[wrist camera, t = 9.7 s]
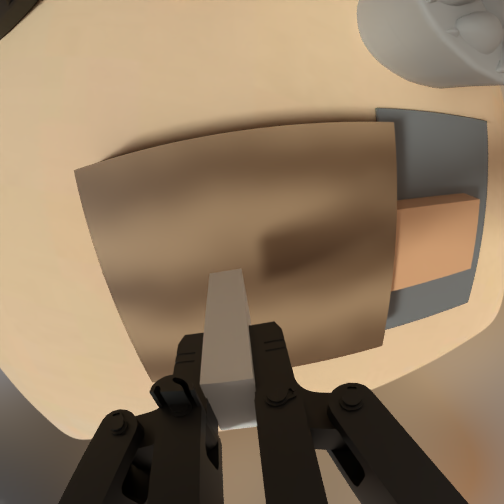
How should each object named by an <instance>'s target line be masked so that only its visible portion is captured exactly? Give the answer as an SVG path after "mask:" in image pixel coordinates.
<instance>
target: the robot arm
mask: <svg viewBox="0 0 504 504" xmlns="http://www.w3.org/2000/svg"><path fill="white" fill-rule="evenodd" d="M37 1H38V0H0V39H1V38H2V37H3V36H4V35H5V34H6V33H7V32H9V31H10V30H11V29H12V28H13V27H14V26H15V25H16V24H17V23H18V22H19V21H20V20H21V19H22V18H23V17H24V16H25V14H26V13H27V12H28V11H29V10H30V9H31V8H32V7H33V6H34V4H35V3H36V2H37ZM150 394H151V395H152V397H153V399H154V400H155V402H156V403H157V405H158V406H159V408H158V409H157V410H154V411H152V412H149V413H145V414H142V415H138V416H134V414H133V413H132V412H130V411H128V410H121V409H119V410H115V411H112V412H111V413H109V414H108V415H106V417H105V418H104V419H103V420H102V422H101V424H100V426H99V427H98V429H97V431H96V433H95V435H94V436H93V438H92V440H91V442H90V444H89V446H88V448H87V449H86V451H85V453H84V455H83V457H82V459H81V460H80V462H79V464H78V466H77V468H76V470H75V472H74V474H73V476H72V478H71V480H70V482H69V483H68V486H67V487H66V489H65V491H64V493H63V496H62V497H61V500H60V501H59V504H224V498H223V474H222V444H221V440H220V438H219V436H218V425H219V427H220V429H221V430H229V429H239V428H248V427H255V426H257V430H258V439H259V447H260V456H261V464H262V472H263V481H264V489H265V498H266V504H328V502H327V498H326V493H325V489H324V485H323V481H322V477H321V473H320V469H319V465H318V461H317V457H316V453H315V449H324V450H327V452H328V453H329V455H330V456H331V458H332V460H333V461H334V463H335V464H336V466H337V467H338V469H339V471H340V472H341V474H342V475H343V477H344V478H345V480H346V481H347V483H348V484H349V486H350V487H351V489H352V491H353V492H354V493H355V495H356V497H357V498H358V500H359V501H360V502H361V504H468V502H467V501H466V500H465V499H464V498H463V497H462V496H461V494H460V493H459V492H458V491H457V490H456V489H455V487H454V486H453V485H452V484H451V483H450V482H449V480H448V479H447V478H446V477H445V476H444V475H443V474H442V472H441V471H440V470H439V469H438V468H437V466H435V464H434V463H433V462H432V461H431V460H430V458H429V457H428V456H427V455H426V454H425V453H424V451H423V450H422V449H421V448H420V447H419V446H418V444H417V443H416V442H415V441H414V440H413V439H412V437H411V436H410V435H409V434H408V433H407V432H406V431H405V429H404V428H403V427H402V426H401V425H400V424H399V422H398V421H397V420H396V419H395V418H394V417H393V415H392V414H391V413H390V412H389V411H388V410H387V408H386V407H385V406H384V405H383V404H382V403H381V401H380V400H379V399H378V398H377V397H376V396H375V395H374V394H373V392H372V391H371V390H370V389H369V388H367V387H366V386H365V385H362V384H358V383H346V384H343V385H340V386H338V387H337V388H336V389H334V390H333V391H332V393H319V392H311V391H308V390H306V389H304V388H302V387H301V386H300V385H299V384H298V383H297V382H296V380H295V378H294V374H293V370H292V366H291V362H290V358H289V355H288V351H287V347H286V343H285V339H284V335H283V331H282V328H281V327H280V326H279V325H278V324H277V323H276V322H275V321H273V322H267V323H261V324H255V325H251V319H250V313H249V307H248V302H247V296H246V291H245V285H244V280H243V274H242V269H236V270H229V271H223V272H217V273H210V275H209V285H208V294H207V304H206V314H205V325H204V333H196V334H188V335H184V337H183V338H182V339H181V341H180V342H179V344H178V348H177V356H176V359H175V365H174V371H173V375H168V376H165V377H163V378H161V379H159V380H157V381H156V382H155V383H154V384H153V385H152V387H151V390H150Z"/></svg>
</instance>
